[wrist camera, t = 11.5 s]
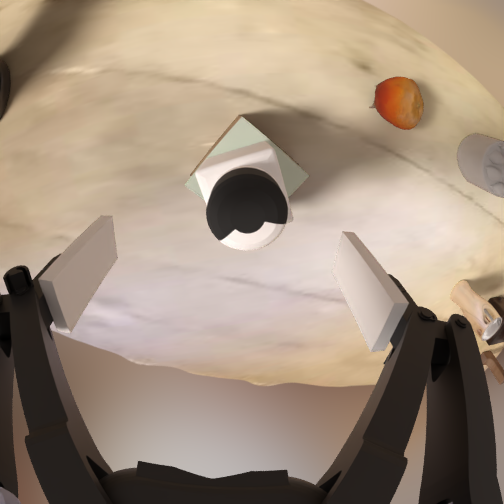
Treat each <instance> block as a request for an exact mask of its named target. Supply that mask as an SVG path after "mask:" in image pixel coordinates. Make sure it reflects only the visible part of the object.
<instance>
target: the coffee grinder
mask: <svg viewBox="0 0 504 504" xmlns="http://www.w3.org/2000/svg"><path fill="white" fill-rule="evenodd" d="M488 302H489V303H490V304H491V305H492V306H493V307H494V308H495V310H496V311H497V312H498V314H499V315H500V317H501V318H502V323H501V325H500V327H499V329H498V330H497V332H496V333H495V334H494V335H493V336H492V337H491V338H490V339H488V340H486V342H487V343H488V345H493V344H497V343H501V342H504V298H503V297H496V298H491V299H490V300H489V301H488Z"/></svg>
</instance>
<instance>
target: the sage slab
mask: <svg viewBox="0 0 504 504" xmlns="http://www.w3.org/2000/svg"><path fill="white" fill-rule="evenodd" d="M262 141H266V142H267V143H268V144H269V145H270V146H271V147H272V148H274V150H275V152H276V155H277V159H278V163H279V166H280V170H281V173H282V177H283V181H284V184H285V188H286V192H287V196H288V198H289V197H290V196H291V195H292V194H293V193H294V192H295V190H296V189H297V188H298V187H299V186H300V185H301V184H302V183H303V182H304V181H305V180H306V179H307V178H308V177H309V175H308V174H307V173H306V172H305V171H304V170H303V169H302V168H301V167H299V166H298V165H297V164H296V163H295V162H294V161H293V160H292V159H291V158H290V157H289V156H287V155H286V154H285V153H284V152H283V151H282V150H281V149H280V148H279V147H277V146H276V145H275V144H274V143H273V142H272V141H271V140H269V139H268V138H267V137H266V136H265V135H264V134H262V133H261V132H260V131H259V130H258V129H257V128H255V127H254V126H253V125H252V124H251V123H249V122H248V121H247V120H246V119H245V118H243V117H241V118H240V119H239V120H238V122H237V123H236V124H235V125H234V126H233V127H232V128H231V129H230V130H229V132H228V133H227V134H226V135H225V136H224V137H223V138H222V140H221V141H220V142H219V143H218V144H217V145H216V147H215V148H214V149H213V150H212V151H211V153H210V154H209V155H208V156H207V157H206V159H207V158H210V157H213V156H216V155H219V154H222V153H225V152H228V151H231V150H235V149H238V148H241V147H245V146H248V145H251V144H255V143H258V142H262ZM202 163H203V162H202ZM202 163H201V164H202ZM200 166H201V165H200ZM200 166H199V167H200ZM199 167H198V168H199ZM198 168H197V170H198ZM197 170H196V171H197ZM196 171H195V172H194V173H193V175H192V176H191V177H190V178H189V180H188V181H187V183H186V184H185V186H186V187H187V188H189V189H190V190H191V191H192V192H194V193H195V194H196V195H198V196H199V197H200V198H202V199H203V200H204V197H203V194H202V192H201V189H200V186H199V184H198V181H197V178H196V175H195V173H196ZM204 201H205V200H204Z"/></svg>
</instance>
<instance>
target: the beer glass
mask: <svg viewBox="0 0 504 504" xmlns="http://www.w3.org/2000/svg"><path fill="white" fill-rule="evenodd" d="M450 299H451V300H452V301H453V302H454V303H456V304H457V305H458V306H459V307H460V309H461V310H462V312H463V314H464V316H465V318H467V320H468V321H469V322H470V323H471V325H472V328H473V330H474V332H475V333H476V334H477V335H478V336H479V337H480V338H481V340H482V341H486V340H488V339H490V338H491V337H492V336H493V335H494V334H495V333H496V332H497V330H498V329H499V327H500V325H501V323H502V318H501V317H500V315H499V314H498V312H497V311H496V310H495V308H494V307H493V306H492V305H491V304H490V303H489V302H488V301H487V300H485V299H484V298H483V297H481V296H480V295H478V294H477V293H476V292H474V291H473V290H472V288H471V287H470V285H469V284H468V282H467V281H466V280H461V281H459V282H458V283H457V284H456V285H455V286H454V287H453V289H452V291H451V293H450Z"/></svg>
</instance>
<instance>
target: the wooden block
mask: <svg viewBox="0 0 504 504" xmlns="http://www.w3.org/2000/svg"><path fill="white" fill-rule="evenodd" d="M481 359H482V363H483V365H487V366H488V367H489V368H490V370H491V371H492V373H493V374H494V376H495V377H496V379H497V381H498V382H499V384H502V383H504V370H503V368H502V367H501V365H500V364H499V362H498V361H497V359H496V358H495V356H494V355H493V353H492V352H491V351H488V352H483V353H482V354H481Z"/></svg>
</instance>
